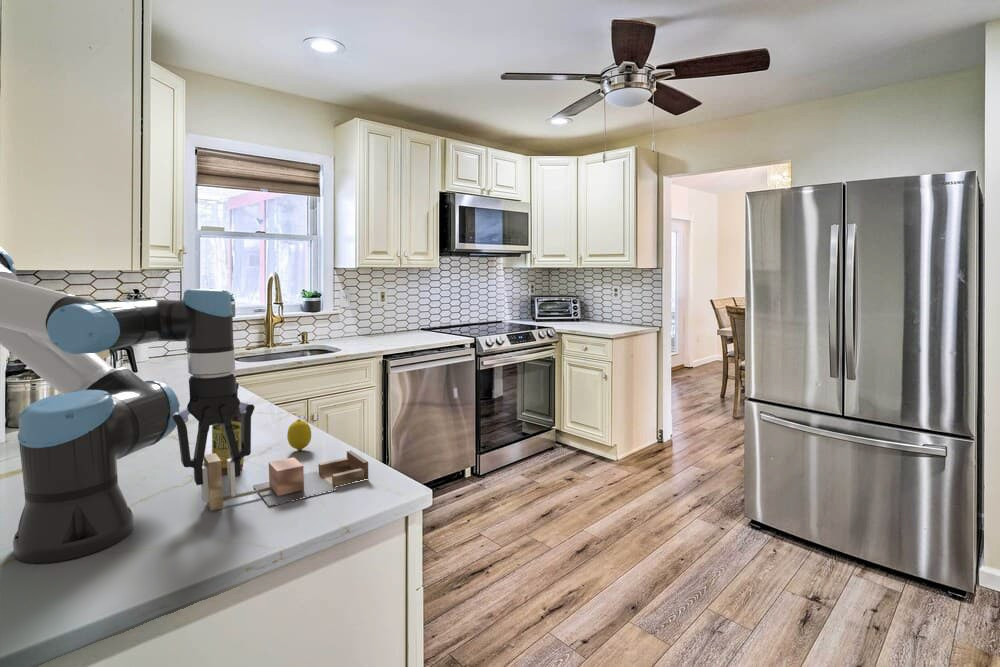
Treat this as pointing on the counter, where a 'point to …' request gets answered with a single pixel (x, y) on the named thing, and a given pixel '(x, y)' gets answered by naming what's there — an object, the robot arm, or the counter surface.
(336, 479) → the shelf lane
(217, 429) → the sauce bottle
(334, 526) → the counter surface
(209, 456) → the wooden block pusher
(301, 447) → the lemon
